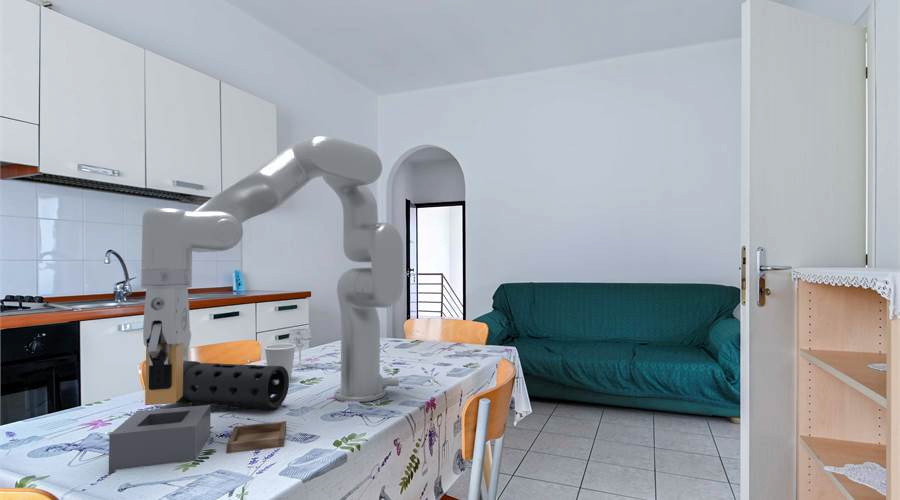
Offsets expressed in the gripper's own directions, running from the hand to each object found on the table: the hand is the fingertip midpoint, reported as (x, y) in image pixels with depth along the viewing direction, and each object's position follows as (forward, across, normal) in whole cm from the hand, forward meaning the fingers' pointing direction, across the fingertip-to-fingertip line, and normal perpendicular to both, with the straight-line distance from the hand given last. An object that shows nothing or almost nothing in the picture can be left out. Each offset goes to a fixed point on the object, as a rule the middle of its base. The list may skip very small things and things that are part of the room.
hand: (164, 383), depth 79 cm
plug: (+3, 0, 0) cm, 3 cm away
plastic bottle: (+12, +43, +9) cm, 46 cm away
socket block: (+12, 0, 0) cm, 12 cm away
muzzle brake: (+12, +25, -5) cm, 28 cm away
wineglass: (+12, +62, -21) cm, 67 cm away
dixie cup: (+12, +46, -16) cm, 50 cm away
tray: (+12, 0, -15) cm, 19 cm away
